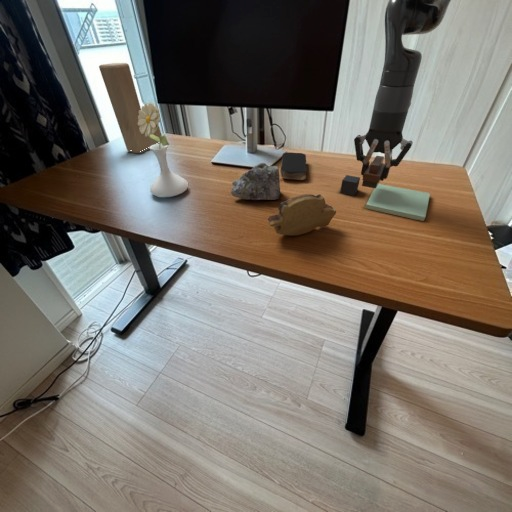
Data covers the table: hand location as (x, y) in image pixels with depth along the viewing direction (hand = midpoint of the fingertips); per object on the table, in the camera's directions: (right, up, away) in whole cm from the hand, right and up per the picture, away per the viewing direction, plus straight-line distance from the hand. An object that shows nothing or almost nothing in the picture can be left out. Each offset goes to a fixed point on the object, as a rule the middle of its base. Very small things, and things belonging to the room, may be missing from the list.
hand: (373, 177), depth 73 cm
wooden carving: (-21, -16, -8) cm, 28 cm away
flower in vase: (-58, -2, +10) cm, 59 cm away
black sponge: (-19, +8, +19) cm, 28 cm away
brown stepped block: (0, -1, +1) cm, 1 cm away
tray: (+7, -7, 0) cm, 10 cm away
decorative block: (-80, +26, +44) cm, 94 cm away
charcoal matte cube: (-3, -1, +4) cm, 5 cm away
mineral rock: (-31, -4, +6) cm, 32 cm away
